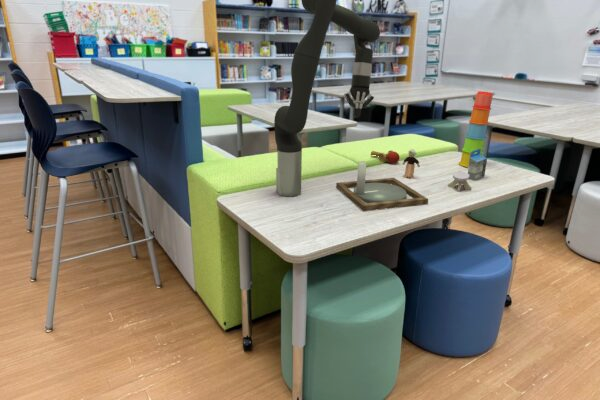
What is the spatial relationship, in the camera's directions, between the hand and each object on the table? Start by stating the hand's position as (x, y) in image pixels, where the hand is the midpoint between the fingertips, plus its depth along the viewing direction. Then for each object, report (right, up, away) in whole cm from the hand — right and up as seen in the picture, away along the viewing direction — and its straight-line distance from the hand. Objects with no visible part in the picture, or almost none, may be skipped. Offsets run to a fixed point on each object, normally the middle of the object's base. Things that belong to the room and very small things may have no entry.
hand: (356, 117), depth 179 cm
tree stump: (+42, -30, -4) cm, 51 cm away
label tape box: (+53, -25, +9) cm, 60 cm away
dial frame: (+7, -33, -13) cm, 36 cm away
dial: (+7, -33, -13) cm, 36 cm away
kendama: (+18, -15, +33) cm, 41 cm away
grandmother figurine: (+24, -25, +8) cm, 36 cm away
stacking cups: (+58, -18, +26) cm, 66 cm away
